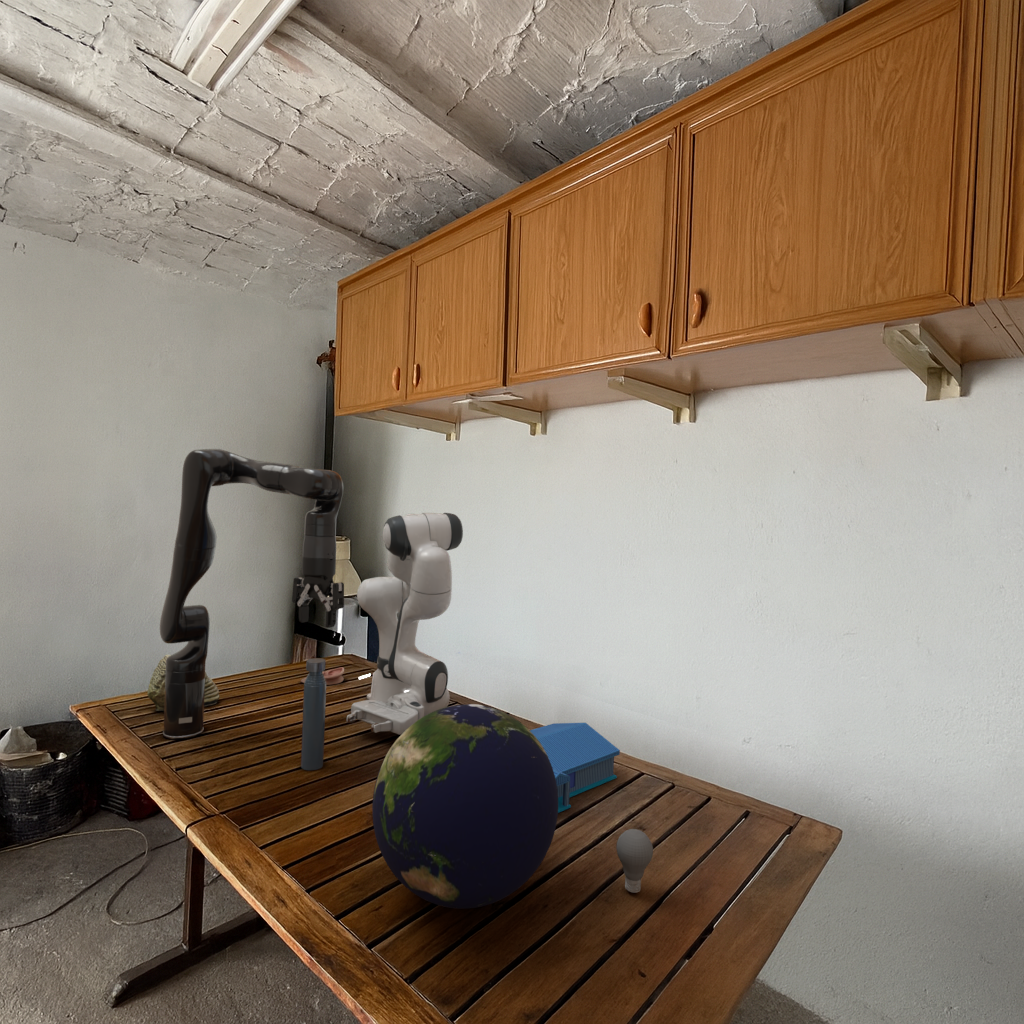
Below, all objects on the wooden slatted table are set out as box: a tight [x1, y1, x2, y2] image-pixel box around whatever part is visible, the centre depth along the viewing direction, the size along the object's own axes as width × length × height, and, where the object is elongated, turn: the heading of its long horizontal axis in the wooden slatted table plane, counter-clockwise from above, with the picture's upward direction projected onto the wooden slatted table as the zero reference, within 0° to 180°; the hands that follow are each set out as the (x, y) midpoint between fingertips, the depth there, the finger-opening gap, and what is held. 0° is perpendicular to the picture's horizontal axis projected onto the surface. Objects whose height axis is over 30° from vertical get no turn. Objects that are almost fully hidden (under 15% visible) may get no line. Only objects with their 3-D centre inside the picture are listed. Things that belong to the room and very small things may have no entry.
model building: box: [529, 722, 621, 814], centre depth 143 cm, size 39×24×10 cm, turn 132°
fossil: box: [147, 654, 221, 712], centre depth 185 cm, size 9×18×15 cm, turn 132°
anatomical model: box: [300, 666, 345, 686], centre depth 215 cm, size 13×4×12 cm
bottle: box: [300, 671, 327, 771], centre depth 148 cm, size 5×5×24 cm
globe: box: [371, 703, 559, 910], centre depth 103 cm, size 30×30×30 cm
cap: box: [305, 657, 327, 673], centre depth 148 cm, size 4×4×2 cm
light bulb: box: [615, 828, 654, 894], centre depth 106 cm, size 6×6×10 cm
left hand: (316, 624), depth 148 cm, fingers open, 8 cm apart
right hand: (360, 724), depth 160 cm, fingers open, 8 cm apart
